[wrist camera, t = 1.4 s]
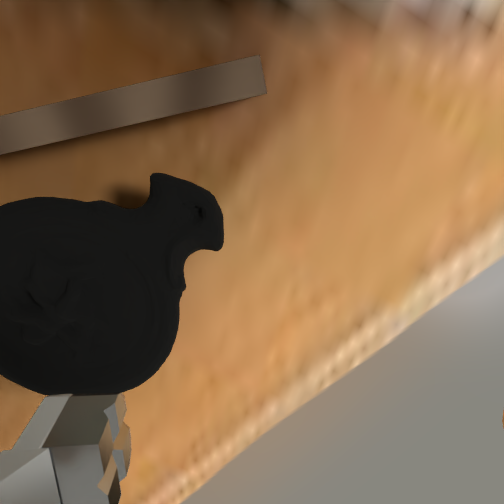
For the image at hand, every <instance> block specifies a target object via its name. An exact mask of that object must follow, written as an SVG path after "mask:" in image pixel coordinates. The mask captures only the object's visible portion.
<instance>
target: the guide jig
mask: <svg viewBox="0 0 504 504" xmlns="http://www.w3.org/2000/svg"><path fill="white" fill-rule="evenodd" d="M262 94H267V90H266V85H265V80H264V74H263V69H262V64H261V59H260V55H256V56H252V57H247V58H243V59H239V60H235V61H230V62H226V63H222V64H218V65H214V66H209V67H205V68H201V69H197V70H192V71H188V72H184V73H180V74H175V75H171V76H167V77H163V78H159V79H154V80H150V81H146V82H142V83H137V84H133V85H129V86H125V87H121V88H116V89H112V90H108V91H104V92H99V93H95V94H91V95H87V96H82V97H78V98H74V99H70V100H66V101H61V102H57V103H53V104H49V105H44V106H40V107H36V108H32V109H28V110H23V111H19V112H15V113H11V114H6V115H2V116H0V155H1V154H6V153H10V152H14V151H19V150H23V149H28V148H32V147H36V146H41V145H45V144H49V143H54V142H58V141H62V140H67V139H71V138H75V137H80V136H84V135H88V134H93V133H97V132H101V131H106V130H110V129H115V128H119V127H123V126H128V125H132V124H136V123H141V122H145V121H149V120H154V119H158V118H162V117H167V116H171V115H175V114H180V113H184V112H188V111H193V110H197V109H202V108H206V107H210V106H215V105H219V104H223V103H228V102H232V101H236V100H241V99H245V98H249V97H254V96H258V95H262Z"/></svg>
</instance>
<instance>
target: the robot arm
mask: <svg viewBox="0 0 504 504" xmlns="http://www.w3.org/2000/svg"><path fill="white" fill-rule="evenodd" d="M126 410H127V408H126V403H125V397H124V395H123V394H122V393H121V392H114V393H81V394H58V395H49V396H47V397H45V398H44V399H43V401H42V402H41V404H40V406H39V407H38V409H37V410H36V412H35V413H34V415H33V417H32V418H31V420H30V421H29V423H28V424H27V426H26V427H25V429H24V431H23V432H22V434H21V435H20V437H19V438H18V440H17V442H16V443H15V445H14V446H13V448H12V449H11V450H3V451H2V452H0V504H118V503H119V500H120V496H121V490H120V483H119V482H120V481H121V480H122V479H123V478H125V477H126V476H127V472H128V468H129V464H130V455H131V435H130V428H129V427H128V426H127V425H126V424H125V423H124V422H123V419H124V416H125V413H126ZM502 422H503V427H504V412H503V420H502Z"/></svg>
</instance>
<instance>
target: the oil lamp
mask: <svg viewBox="0 0 504 504" xmlns="http://www.w3.org/2000/svg"><path fill="white" fill-rule="evenodd" d="M223 243H224V227H223V214H222V211H221V208H220V206H219V205H218V203H217V201H216V198H215V197H214V196H213V195H212V194H211V193H210V192H209V191H207V190H205V189H204V188H202V187H200V186H197V185H196V184H194V183H192V182H189V181H186V180H183V179H179V178H176V177H173V176H170V175H167V174H163V173H152V175H151V176H150V195H149V198H148V200H147V202H146V203H145V204H144V205H142V206H141V207H138V208H136V209H126V208H122V207H119V206H117V205H115V204H112V203H109V202H106V201H102V200H100V201H99V200H98V201H92V202H83V201H78V200H73V199H64V198H56V197H35V198H28V199H23V200H19V201H14V202H10V203H7V204H5V205H2V206H0V374H1V375H2V376H4V377H5V378H7V379H9V380H11V381H13V382H15V383H16V384H19V385H21V386H23V387H25V388H27V389H30V390H32V391H35V392H38V393H40V394H44V395H58V394H81V393H114V392H121V393H122V392H125V391H127V390H130V389H133V388H135V387H137V386H139V385H141V384H142V383H144V382H145V381H146V380H148V379H149V378H150V377H152V376H153V375H154V374H155V373H156V372H157V371H158V370H159V368H160V367H161V365H162V364H163V363H164V362H165V360H166V358H167V357H168V356H169V354H170V352H171V350H172V347H173V344H174V342H175V339H176V335H177V331H178V325H179V302H180V298H181V296H182V292H183V291H184V290H185V288H186V284H185V278H184V271H183V270H184V264H185V260H186V259H187V257H188V256H189V255H190V254H192V253H193V252H195V251H197V250H201V249H207V250H213V251H218V250H220V249H221V248H222V246H223Z"/></svg>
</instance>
